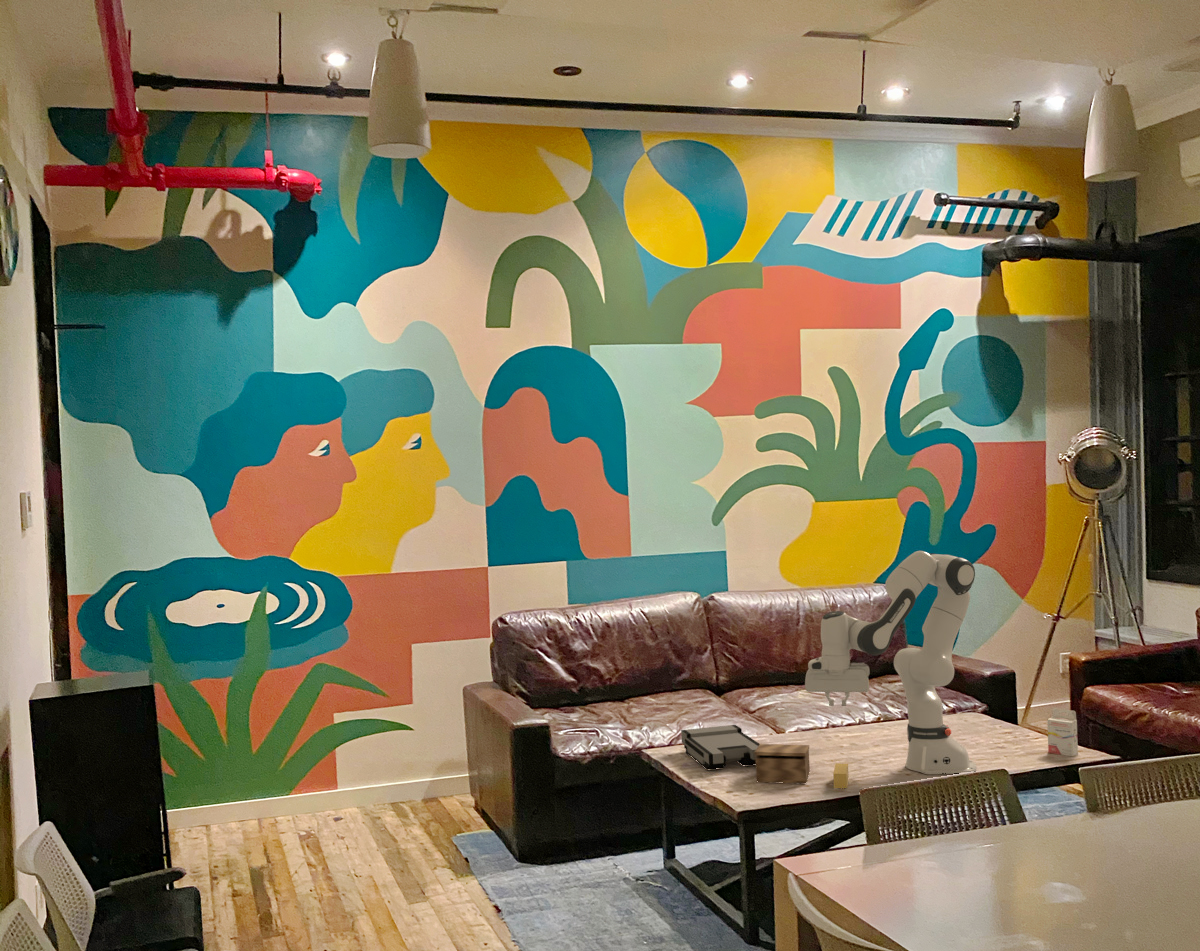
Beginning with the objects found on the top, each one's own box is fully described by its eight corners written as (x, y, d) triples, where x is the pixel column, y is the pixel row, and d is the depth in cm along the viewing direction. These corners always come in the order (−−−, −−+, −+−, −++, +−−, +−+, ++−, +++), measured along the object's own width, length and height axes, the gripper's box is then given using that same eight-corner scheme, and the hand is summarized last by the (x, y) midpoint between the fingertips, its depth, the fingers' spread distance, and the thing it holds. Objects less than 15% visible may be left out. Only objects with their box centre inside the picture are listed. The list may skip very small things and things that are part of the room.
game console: (709, 775, 373) (708, 750, 373) (682, 752, 404) (681, 730, 404) (767, 768, 378) (766, 744, 378) (736, 746, 409) (735, 724, 409)
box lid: (809, 748, 370) (809, 745, 370) (805, 756, 356) (805, 753, 356) (760, 747, 375) (760, 744, 375) (754, 755, 361) (754, 751, 361)
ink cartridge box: (1047, 753, 380) (1045, 710, 380) (1053, 750, 384) (1051, 707, 384) (1073, 756, 375) (1071, 713, 374) (1078, 753, 378) (1076, 710, 378)
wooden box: (809, 772, 370) (808, 748, 370) (806, 784, 357) (805, 759, 357) (761, 770, 375) (760, 747, 375) (756, 782, 361) (755, 758, 361)
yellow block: (848, 779, 361) (848, 763, 361) (846, 789, 350) (846, 773, 350) (836, 778, 362) (835, 763, 362) (834, 789, 351) (833, 773, 351)
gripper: (869, 660, 356) (871, 703, 356) (805, 660, 361) (806, 703, 361) (868, 664, 350) (870, 708, 350) (803, 664, 355) (805, 707, 355)
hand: (837, 705), depth 356 cm, fingers open, 3 cm apart
